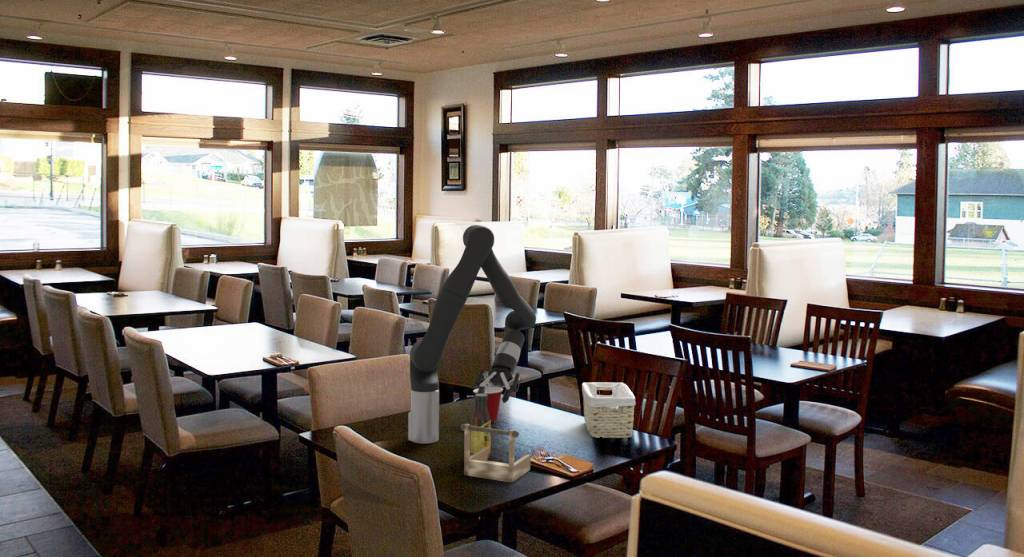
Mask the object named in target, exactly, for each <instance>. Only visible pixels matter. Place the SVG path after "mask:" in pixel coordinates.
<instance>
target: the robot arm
mask: <svg viewBox="0 0 1024 557" xmlns="http://www.w3.org/2000/svg"><path fill="white" fill-rule="evenodd" d="M462 242H463V245H464V247H465V248H464V251H463V253H462V255H461V257H460V259H459V261H458V263H457V264H456V266H455V268H454V269H453V270H452V271H451V272H450V273H449V275H448V276H447V278H446V279H445V281H444V282H443V284H442V286H441V289H440V291H439V293H438V295H437V297H436V298H435V302H434V304H433V305H434V306H433V308H432V313H431V317H430V318H431V319H430V322H429V326H428V328H427V329H426V332H425V334H424V336H423V337H422V339H420V340H418V341H417V342H415V343H414V344H412V347H411V349H410V352H409V377H410V380H409V381H410V411H409V412H408V414H407V417H408V419H407V421H408V424H407V425H408V427H407V428H408V430H407V435H408V436H407V438H408V441H411V442H412V443H415V444H421V445H422V444H423V445H424V444H427V445H428V444H434V443H437V442H438V441H439V439H440V438H439V435H440V432H439V430H440V429H439V428H440V427H439V426H440V424H439V423H440V419H439V418H440V414H439V413H440V382H439V381H440V379H439V375H438V374H439V373H438V365H439V364H440V362H441V359H442V356H443V353H444V350H445V348H446V344H447V342H448V339H449V337H450V334H451V332H452V330H453V329H454V327H455V324H456V323H457V321H458V319H459V317H460V314H461V313H462V311H463V309H464V307H465V305H466V303H467V300H468V298H469V296H470V293H471V291H472V289H473V287H474V284H475V282H476V279H477V276H478V274H479V272H480V270H481V269H482V272H483V273H484V275H485V276H486V278H487V281H488V282H489V284H490V286H491V288H492V290H493V292H494V294H495V296H496V297H497V299H498V301H499V303H500V304H501V306H502V307H503V308H505V309H511V311H509V313H508V314H507V315H506V317H505V320H504V330H503V331H504V335H503V337H502V340H501V343H500V345H499V347H498V349H497V351H496V354H495V356H494V358H493V362H492V364H491V368H490V370H489V371H485V369H481V370H480V371H479V373H478V376H477V378H476V380H475V382H474V384H475V386H476V389H479V390H478V393H477V394H484V392H485V390H486V389H487V388H488V387H494V386H495V387H497V386H498V387H505V389H504V392H503V393H502V394H503V396H502V397H501V401H502V403H503V404H507V402H508V401H509V399H510V397H511V394H512V393H518V391H519V387H520V384H521V380H522V378H521V375H520V373H519V372H517V373H515V370H516V367H517V365H518V363H519V360H520V356H521V351H522V349H523V345H524V342H525V334H524V333H522V330H527V329H531V328H533V327H534V326H535V325H536V323H537V315H536V312H535V310H534V309H533V307H531V305H530V304H528V302H527V301H526V300H525V299H524V297H522V296H521V295H520V293H519V291H518V289H517V287H516V286H515V283H514V282H513V280H512V278H511V276H510V275H509V274H508V272H507V271H506V270H505V269H504V267H503V265H502V264H501V263H500V261H499V260H498V258H497V256H496V254H495V252H494V250H493V247H494V244H495V235H494V232H493V231H492V229H490V228H489V227H487V226H484V225H481V224H480V225H479V224H474V225H473V224H472V225H470V226H468V227H467V228H466V229H465V230H464V232H463V235H462ZM514 373H515V374H514ZM512 380H513V382H512V386H510V384H509V382H510V381H512Z"/></svg>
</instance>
